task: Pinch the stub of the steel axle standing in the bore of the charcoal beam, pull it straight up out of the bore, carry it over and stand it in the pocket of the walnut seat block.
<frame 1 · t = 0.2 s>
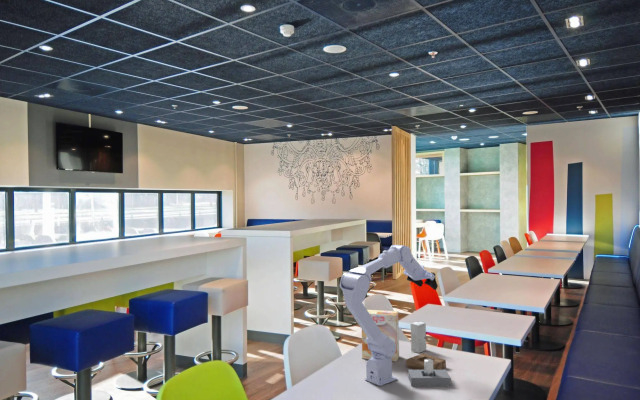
hand: (428, 286, 190), 31 cm above the table, tool tilted 45°, fingers open, 7 cm apart
bored beam: (429, 381, 171), on the table
walnut seat block: (426, 367, 185), on the table
skincare box: (418, 350, 206), on the table
coffeecake box: (380, 357, 198), on the table
metal axle: (428, 371, 171), in the bored beam
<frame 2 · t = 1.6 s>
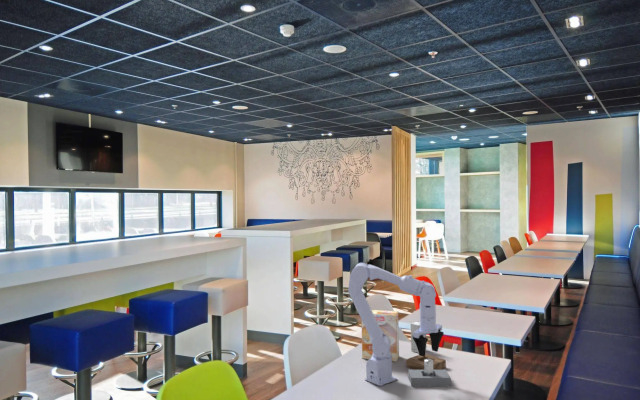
hand: (428, 353, 171), 10 cm above the table, tool pointing down, fingers open, 7 cm apart
nothing on the table moved.
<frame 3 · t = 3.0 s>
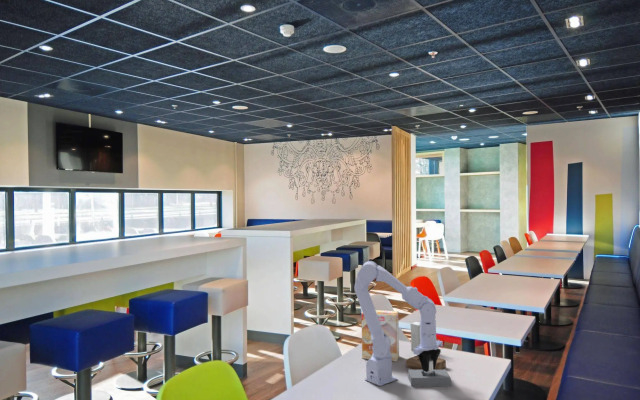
hand: (428, 369, 171), 4 cm above the table, tool pointing down, fingers closed on metal axle, 3 cm apart
metal axle: (428, 371, 171), in the bored beam, touching gripper
everything else where it was.
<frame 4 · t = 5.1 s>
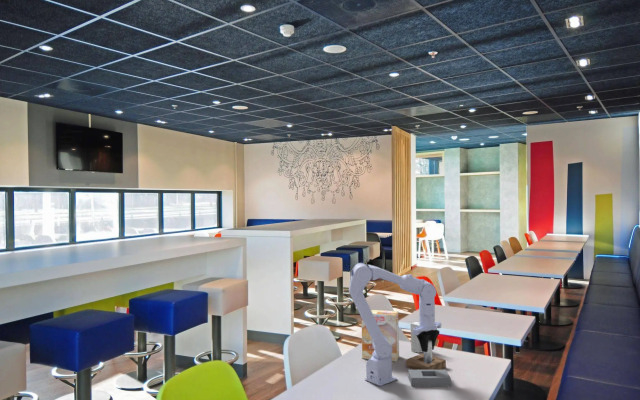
hand: (427, 350, 174), 10 cm above the table, tool pointing down, fingers closed on metal axle, 3 cm apart
metal axle: (427, 351, 174), point 10 cm above the table, touching gripper
everything else where it was.
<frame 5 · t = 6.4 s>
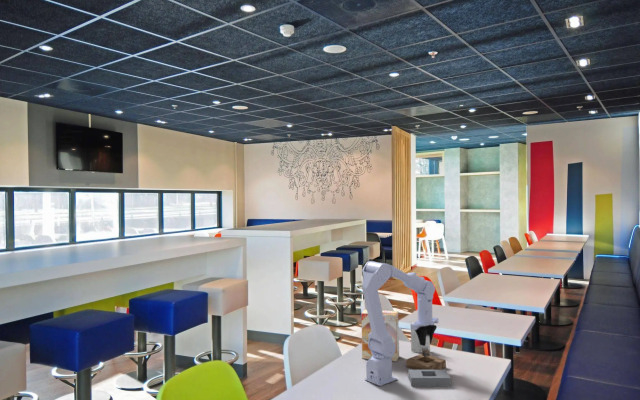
hand: (425, 344, 185), 9 cm above the table, tool pointing down, fingers closed on metal axle, 3 cm apart
metal axle: (425, 345, 185), point 9 cm above the table, touching gripper
everything else where it was.
when the fingers open (6 cm above the table, at t = 7.2 s): metal axle drops 1 cm, resting in walnut seat block.
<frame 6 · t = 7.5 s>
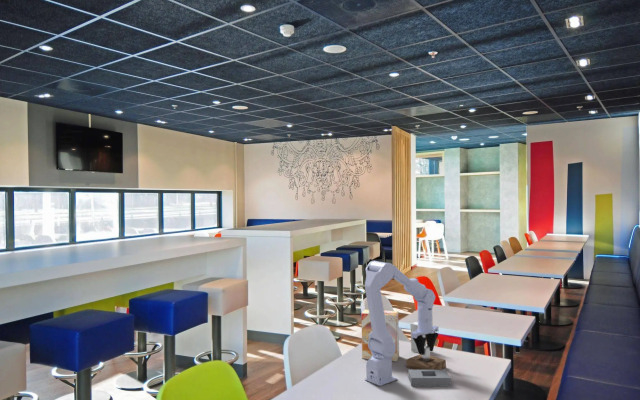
hand: (425, 352, 185), 6 cm above the table, tool pointing down, fingers open, 5 cm apart
metal axle: (425, 357, 185), in the walnut seat block
everything else where it was.
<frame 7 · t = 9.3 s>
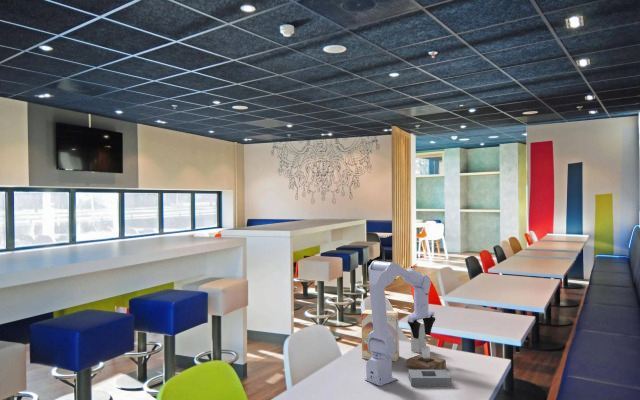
hand: (421, 336, 192), 10 cm above the table, tool pointing down, fingers open, 7 cm apart
nothing on the table moved.
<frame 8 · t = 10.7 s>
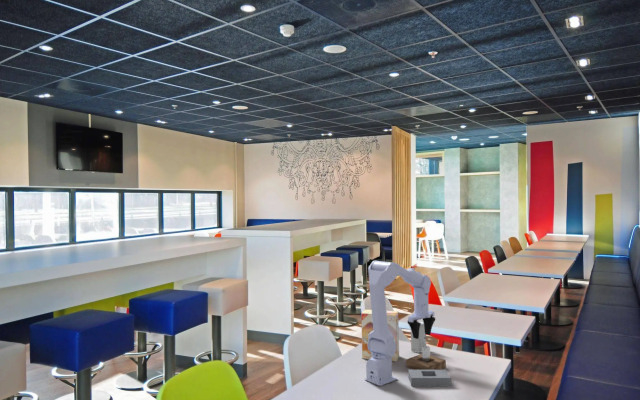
hand: (421, 336, 192), 10 cm above the table, tool pointing down, fingers open, 7 cm apart
nothing on the table moved.
at the end: metal axle 0.1 cm off-centre on the walnut seat block, point 4.0 cm above the walnut seat block's base; metal axle tilted 0°; the gripper is holding nothing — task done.
